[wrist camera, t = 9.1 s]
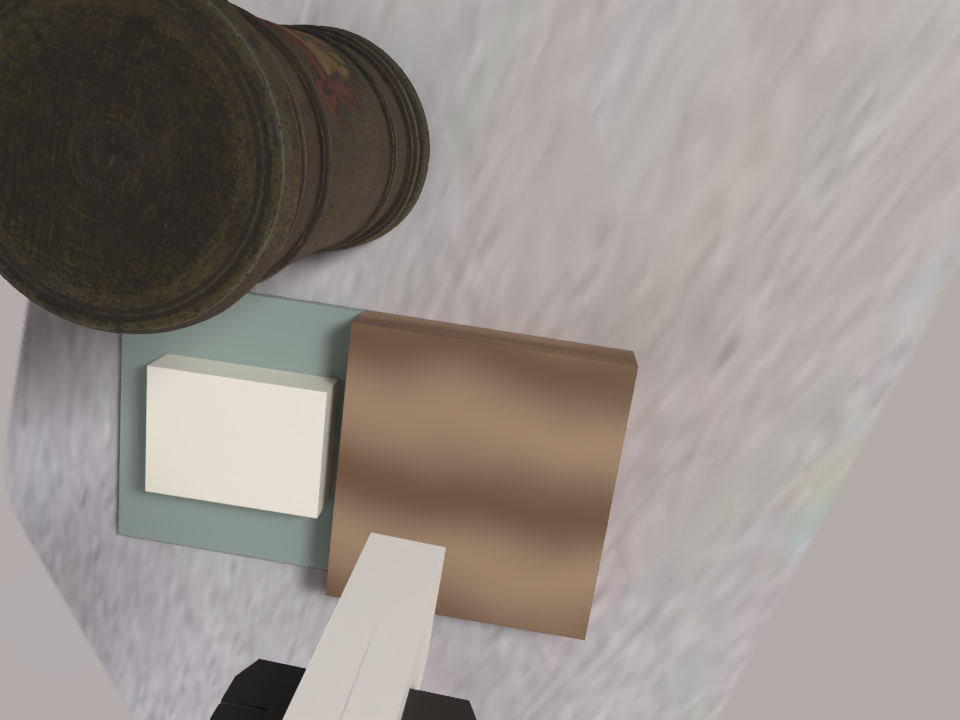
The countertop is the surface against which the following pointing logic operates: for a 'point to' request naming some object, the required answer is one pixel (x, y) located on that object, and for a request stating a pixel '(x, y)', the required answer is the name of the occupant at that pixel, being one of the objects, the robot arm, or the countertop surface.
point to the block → (240, 434)
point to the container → (189, 154)
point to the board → (483, 463)
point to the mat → (246, 341)
